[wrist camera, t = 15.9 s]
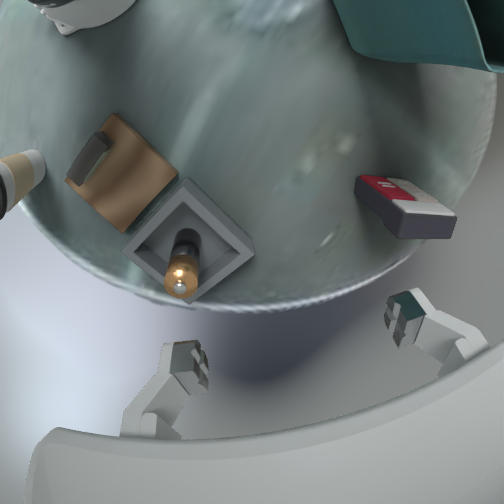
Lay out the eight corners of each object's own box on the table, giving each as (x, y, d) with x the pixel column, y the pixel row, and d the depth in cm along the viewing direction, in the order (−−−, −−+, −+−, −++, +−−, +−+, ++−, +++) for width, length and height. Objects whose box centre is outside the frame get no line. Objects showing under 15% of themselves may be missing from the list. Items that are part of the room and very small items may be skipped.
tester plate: (68, 177, 37) (55, 186, 33) (116, 112, 33) (104, 115, 29) (125, 229, 43) (116, 242, 39) (178, 172, 39) (173, 180, 35)
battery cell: (169, 240, 44) (156, 289, 33) (186, 222, 43) (177, 268, 32) (189, 256, 46) (182, 307, 35) (206, 239, 45) (204, 288, 34)
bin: (129, 236, 44) (121, 252, 40) (187, 176, 40) (182, 186, 35) (191, 286, 51) (189, 304, 46) (251, 238, 46) (254, 254, 42)
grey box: (406, 178, 42) (460, 213, 30) (402, 199, 45) (451, 239, 32) (356, 172, 41) (406, 208, 29) (352, 196, 44) (397, 239, 31)
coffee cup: (11, 161, 33) (-42, 191, 20) (37, 133, 31) (-21, 157, 19) (30, 199, 37) (-17, 238, 25) (57, 174, 36) (5, 211, 23)
